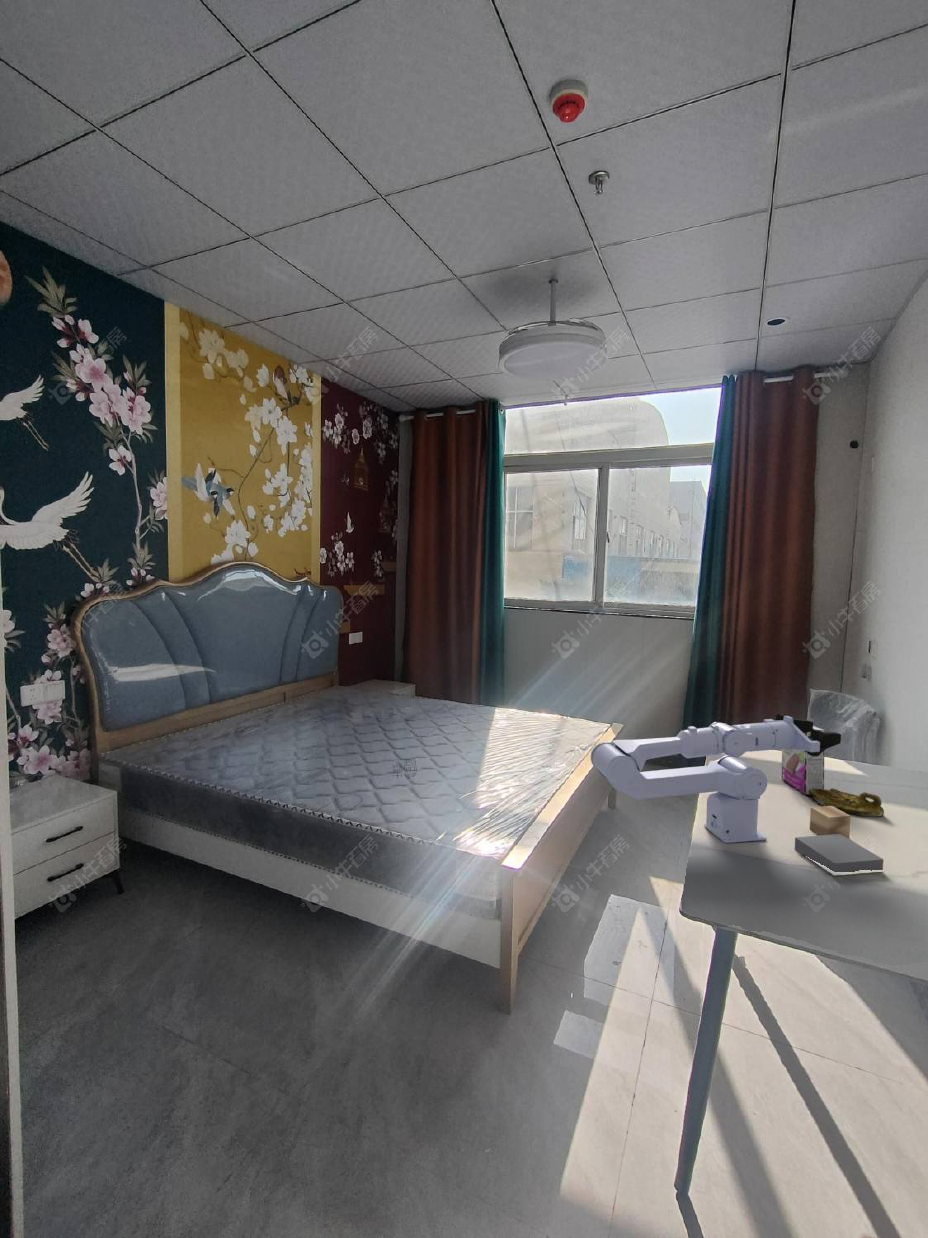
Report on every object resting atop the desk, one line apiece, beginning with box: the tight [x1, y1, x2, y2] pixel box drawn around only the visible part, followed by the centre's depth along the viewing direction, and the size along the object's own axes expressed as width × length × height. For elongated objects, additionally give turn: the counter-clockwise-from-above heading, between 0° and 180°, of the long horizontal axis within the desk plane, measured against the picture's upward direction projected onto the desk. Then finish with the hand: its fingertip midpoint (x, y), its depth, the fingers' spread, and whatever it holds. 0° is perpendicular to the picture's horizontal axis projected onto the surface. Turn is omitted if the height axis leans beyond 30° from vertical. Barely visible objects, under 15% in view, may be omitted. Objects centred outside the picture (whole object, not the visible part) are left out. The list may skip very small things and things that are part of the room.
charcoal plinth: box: [794, 834, 884, 872], centre depth 107 cm, size 10×10×2 cm
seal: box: [809, 788, 885, 817], centre depth 131 cm, size 9×5×15 cm
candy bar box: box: [781, 725, 826, 796], centre depth 142 cm, size 11×5×16 cm, turn 178°
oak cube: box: [809, 805, 852, 839], centre depth 118 cm, size 5×5×5 cm
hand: (825, 732), depth 119 cm, fingers open, 7 cm apart
